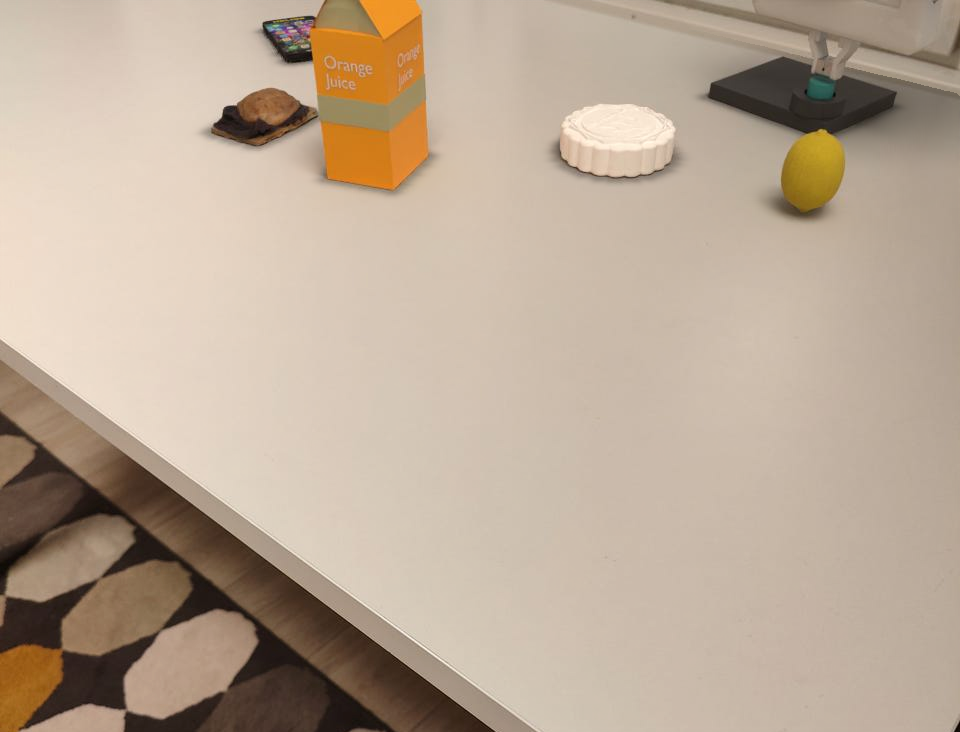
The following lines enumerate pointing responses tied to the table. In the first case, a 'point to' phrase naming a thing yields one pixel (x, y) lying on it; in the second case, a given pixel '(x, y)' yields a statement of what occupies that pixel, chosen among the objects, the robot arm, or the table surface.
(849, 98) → the push button box
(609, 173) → the mooncake
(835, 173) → the lemon
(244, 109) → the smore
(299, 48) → the smartphone
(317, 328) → the table surface
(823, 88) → the button
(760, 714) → the table surface
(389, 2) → the orange juice
